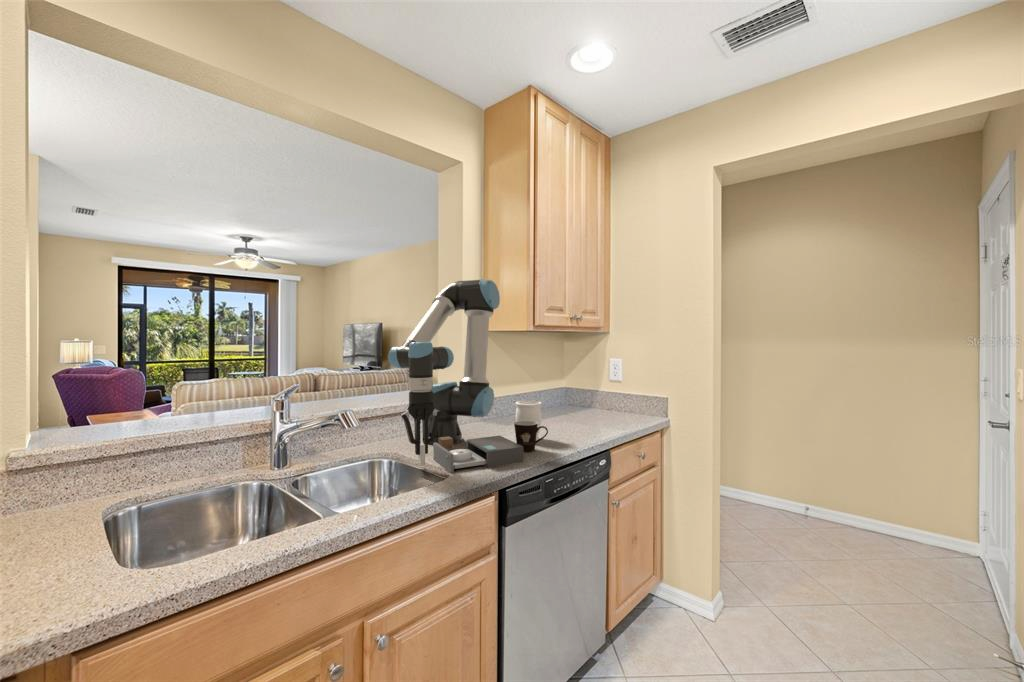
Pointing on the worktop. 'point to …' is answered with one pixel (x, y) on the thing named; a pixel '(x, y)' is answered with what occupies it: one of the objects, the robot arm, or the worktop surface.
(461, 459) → the disc
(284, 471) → the worktop surface
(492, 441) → the housing
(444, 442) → the brown wooden block
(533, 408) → the jar
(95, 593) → the worktop surface
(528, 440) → the coffee mug
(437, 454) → the tray
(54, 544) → the worktop surface
